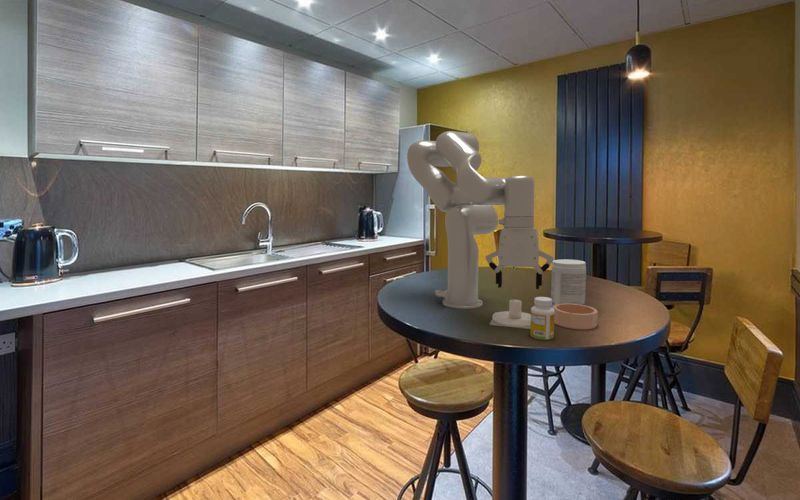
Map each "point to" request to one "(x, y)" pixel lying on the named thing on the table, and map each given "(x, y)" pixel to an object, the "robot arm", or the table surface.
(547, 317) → the supplement bottle
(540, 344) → the table surface
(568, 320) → the bowl
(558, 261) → the supplement tub
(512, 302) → the lid
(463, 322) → the table surface
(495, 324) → the mat
